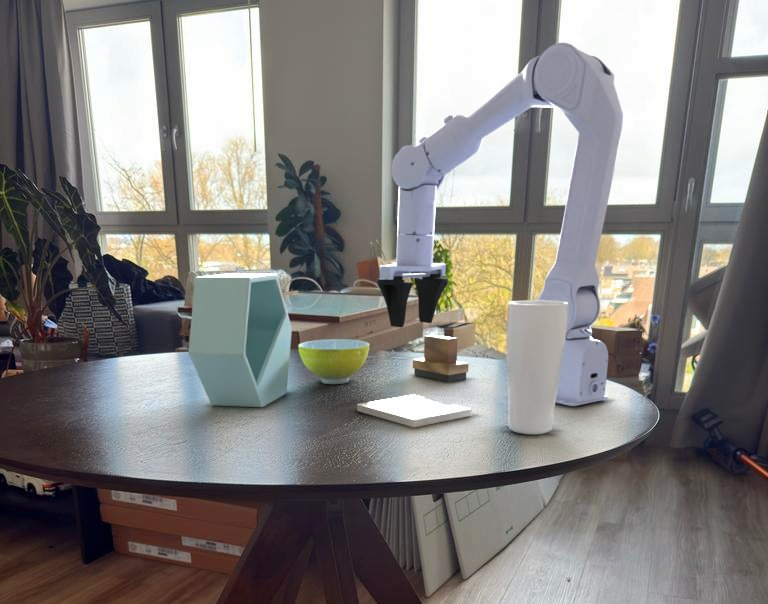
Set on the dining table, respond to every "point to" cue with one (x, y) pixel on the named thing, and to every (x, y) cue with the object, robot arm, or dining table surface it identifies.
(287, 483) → the dining table surface
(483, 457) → the dining table surface
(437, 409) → the tile
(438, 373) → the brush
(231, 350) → the planter
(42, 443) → the dining table surface
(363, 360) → the bowl
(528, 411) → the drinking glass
